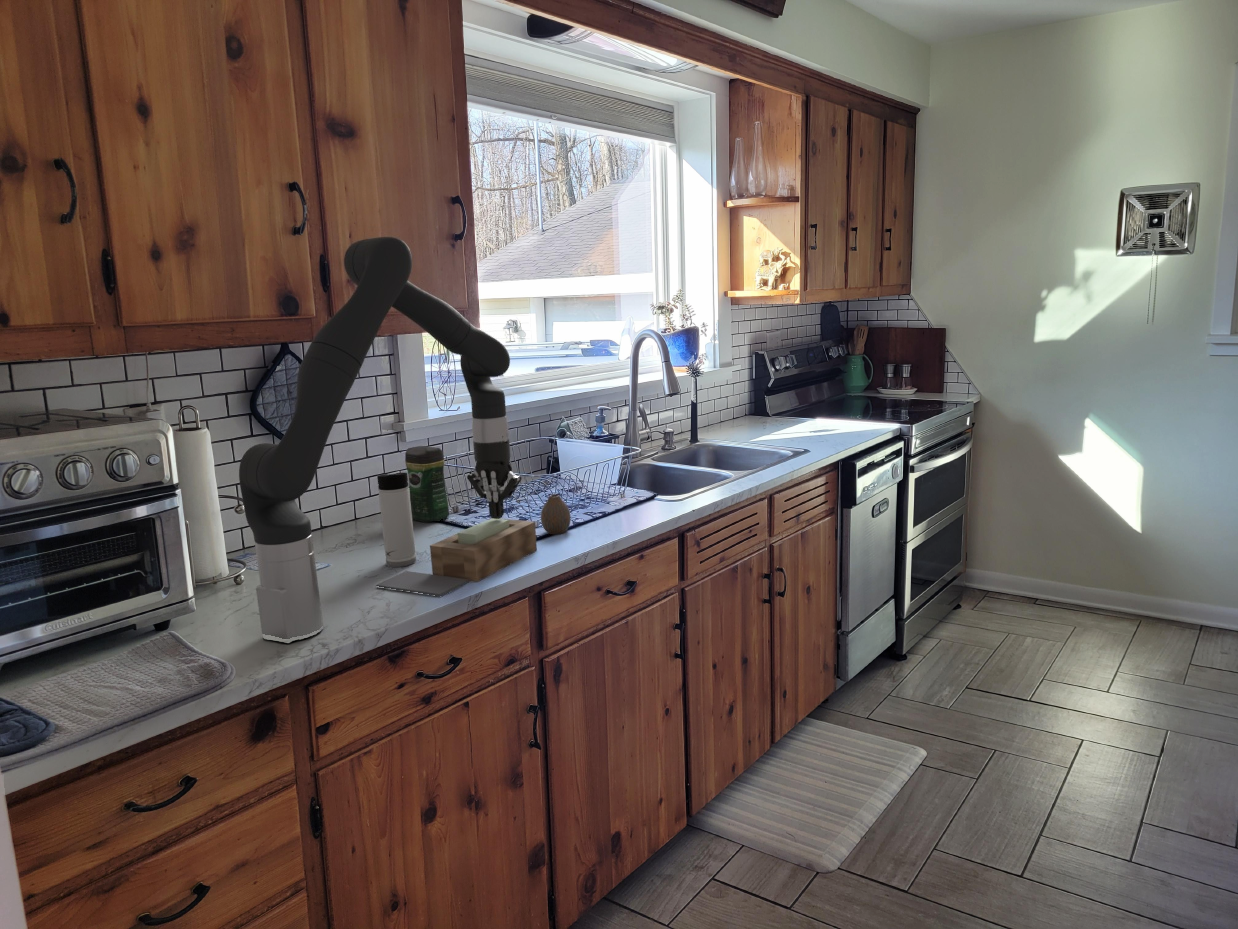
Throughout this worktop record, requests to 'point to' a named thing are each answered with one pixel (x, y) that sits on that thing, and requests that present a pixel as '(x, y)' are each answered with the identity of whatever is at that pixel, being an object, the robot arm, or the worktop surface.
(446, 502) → the coffee jar
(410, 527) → the travel mug
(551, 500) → the vase
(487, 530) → the block
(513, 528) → the brown wooden box
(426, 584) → the grey flat plate
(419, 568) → the worktop surface
